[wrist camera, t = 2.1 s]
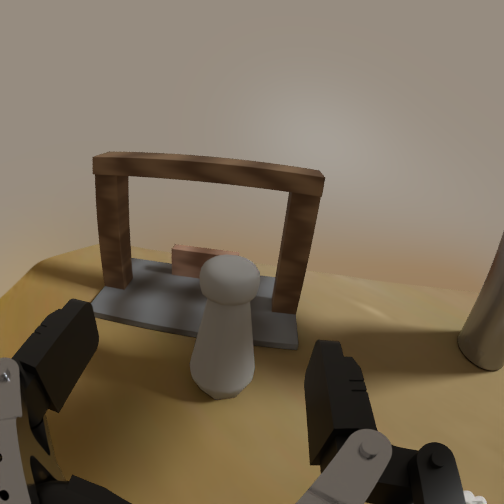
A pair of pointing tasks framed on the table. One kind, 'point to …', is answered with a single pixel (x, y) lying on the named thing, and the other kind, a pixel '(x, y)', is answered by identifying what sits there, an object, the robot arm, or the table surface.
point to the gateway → (192, 258)
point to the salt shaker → (225, 327)
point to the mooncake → (473, 498)
